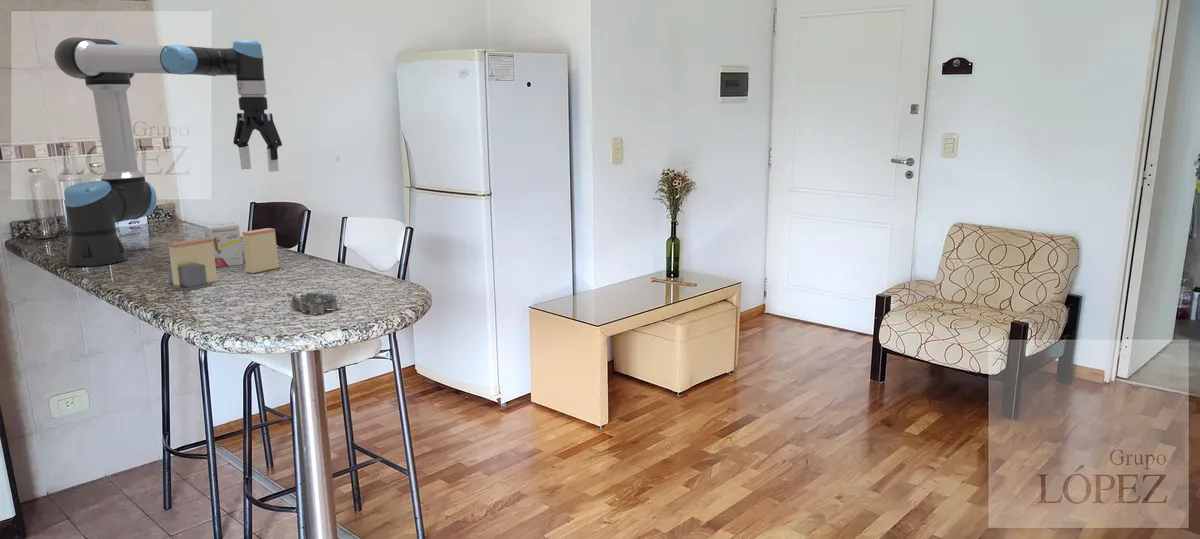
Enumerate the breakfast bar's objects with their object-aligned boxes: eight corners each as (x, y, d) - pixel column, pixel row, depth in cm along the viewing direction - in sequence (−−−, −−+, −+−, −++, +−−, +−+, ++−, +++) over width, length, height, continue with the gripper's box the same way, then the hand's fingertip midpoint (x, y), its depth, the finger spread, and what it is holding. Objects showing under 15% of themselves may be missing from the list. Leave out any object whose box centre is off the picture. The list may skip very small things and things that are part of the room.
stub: (246, 271, 218) (242, 232, 216) (272, 266, 225) (268, 227, 222) (253, 273, 217) (248, 233, 214) (278, 267, 223) (274, 228, 221)
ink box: (212, 268, 224) (207, 227, 221) (207, 265, 227) (202, 225, 225) (243, 264, 229) (239, 224, 227) (238, 261, 233) (234, 222, 230)
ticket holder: (164, 285, 203) (158, 242, 201) (203, 278, 212) (198, 236, 209) (185, 290, 198) (180, 246, 195) (224, 282, 206) (220, 240, 204)
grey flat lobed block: (286, 310, 181) (284, 292, 180) (315, 303, 187) (313, 286, 186) (313, 317, 174) (311, 299, 174) (342, 309, 180) (341, 292, 179)
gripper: (215, 96, 230) (223, 169, 234) (266, 96, 216) (274, 173, 221) (239, 96, 236) (246, 167, 240) (290, 96, 222) (297, 171, 227)
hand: (259, 170), depth 230 cm, fingers open, 13 cm apart
